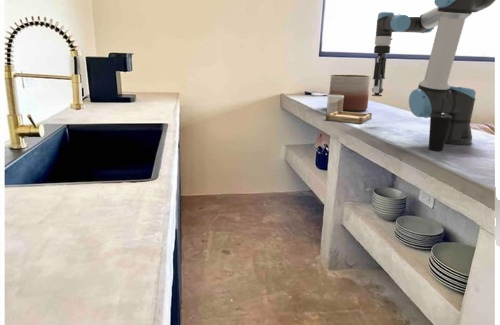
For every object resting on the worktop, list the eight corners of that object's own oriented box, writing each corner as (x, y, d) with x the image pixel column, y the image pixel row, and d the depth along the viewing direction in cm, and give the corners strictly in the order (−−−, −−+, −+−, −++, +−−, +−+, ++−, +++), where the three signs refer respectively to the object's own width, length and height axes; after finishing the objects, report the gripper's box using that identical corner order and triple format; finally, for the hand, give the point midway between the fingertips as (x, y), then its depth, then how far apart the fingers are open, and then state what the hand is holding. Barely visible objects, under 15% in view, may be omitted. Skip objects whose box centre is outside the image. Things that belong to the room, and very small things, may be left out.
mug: (322, 113, 231) (323, 95, 228) (334, 111, 238) (335, 93, 235) (336, 115, 223) (338, 96, 220) (347, 113, 231) (349, 95, 228)
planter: (361, 113, 231) (364, 77, 224) (322, 110, 243) (324, 75, 237) (371, 108, 252) (374, 75, 245) (335, 105, 264) (337, 74, 258)
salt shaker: (382, 96, 189) (385, 72, 185) (370, 95, 191) (373, 72, 187) (383, 95, 194) (385, 72, 190) (371, 94, 196) (373, 71, 192)
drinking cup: (423, 150, 144) (431, 98, 138) (426, 146, 150) (434, 96, 144) (444, 153, 140) (453, 100, 134) (447, 149, 146) (456, 98, 140)
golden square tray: (361, 123, 197) (362, 117, 196) (325, 119, 207) (326, 114, 206) (371, 118, 213) (371, 113, 212) (337, 115, 223) (338, 109, 222)
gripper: (385, 44, 176) (380, 94, 182) (394, 45, 191) (388, 91, 197) (369, 44, 179) (365, 93, 186) (379, 45, 195) (374, 90, 201)
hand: (377, 92), depth 192 cm, fingers closed on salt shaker, 6 cm apart
